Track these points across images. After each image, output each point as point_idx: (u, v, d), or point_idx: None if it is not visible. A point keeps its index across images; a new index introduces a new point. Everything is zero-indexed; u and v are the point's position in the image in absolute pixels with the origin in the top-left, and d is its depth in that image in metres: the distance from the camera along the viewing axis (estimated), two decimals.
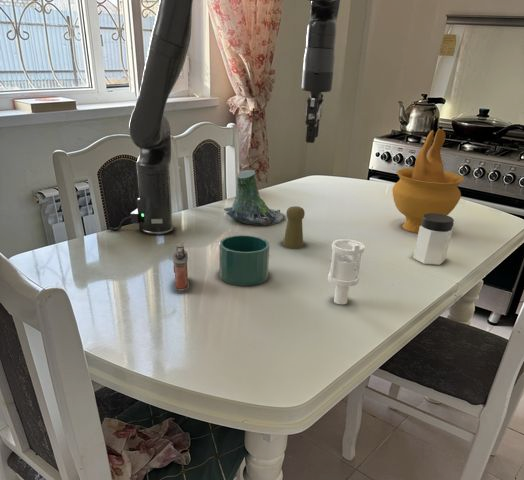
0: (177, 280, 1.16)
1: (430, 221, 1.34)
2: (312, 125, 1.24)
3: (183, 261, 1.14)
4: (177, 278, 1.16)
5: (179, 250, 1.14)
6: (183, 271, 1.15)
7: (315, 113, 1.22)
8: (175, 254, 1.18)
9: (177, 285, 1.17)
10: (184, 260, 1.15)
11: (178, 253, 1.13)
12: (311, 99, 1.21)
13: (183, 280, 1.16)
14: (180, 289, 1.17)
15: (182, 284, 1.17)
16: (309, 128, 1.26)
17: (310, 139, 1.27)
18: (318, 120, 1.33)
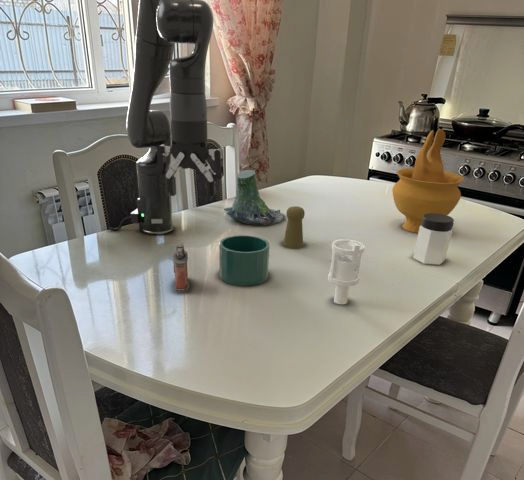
0: (177, 280, 1.16)
1: (430, 221, 1.34)
2: None
3: (183, 261, 1.14)
4: (177, 278, 1.16)
5: (179, 250, 1.14)
6: (183, 271, 1.15)
7: None
8: (175, 254, 1.18)
9: (177, 285, 1.17)
10: (184, 260, 1.15)
11: (178, 253, 1.13)
12: None
13: (183, 280, 1.16)
14: (180, 289, 1.17)
15: (182, 284, 1.17)
16: None
17: None
18: (208, 179, 1.08)
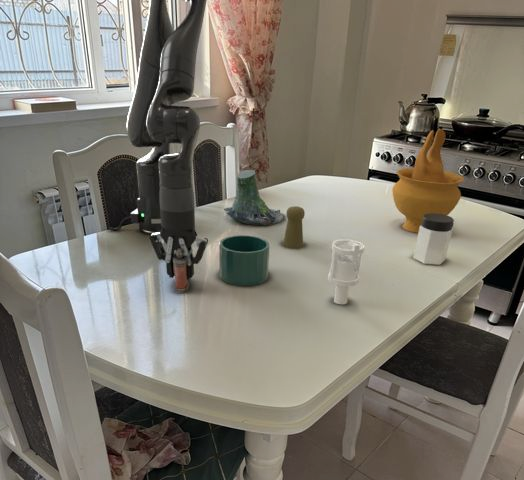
0: (177, 280, 1.16)
1: (430, 221, 1.34)
2: None
3: (183, 261, 1.14)
4: (177, 278, 1.16)
5: (179, 250, 1.14)
6: (183, 271, 1.15)
7: None
8: (175, 254, 1.18)
9: (177, 285, 1.17)
10: (184, 260, 1.15)
11: (178, 253, 1.13)
12: None
13: (183, 280, 1.16)
14: (180, 289, 1.17)
15: (182, 284, 1.17)
16: None
17: None
18: (186, 263, 1.17)
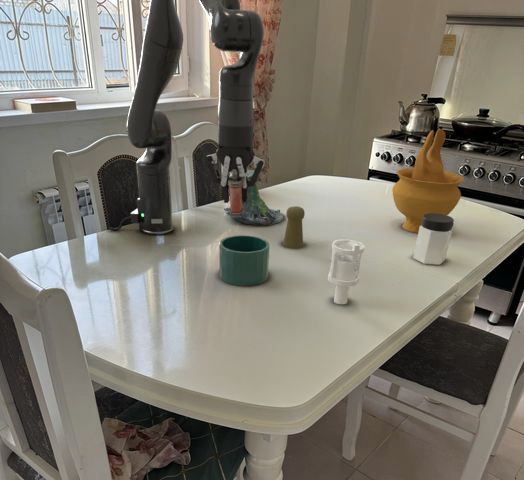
0: (232, 203, 1.13)
1: (430, 221, 1.34)
2: None
3: (238, 182, 1.11)
4: (232, 201, 1.12)
5: (234, 170, 1.10)
6: (238, 193, 1.12)
7: None
8: (230, 178, 1.14)
9: (232, 209, 1.13)
10: (239, 181, 1.11)
11: (233, 173, 1.10)
12: None
13: (238, 203, 1.13)
14: (235, 213, 1.14)
15: (237, 207, 1.13)
16: None
17: None
18: None
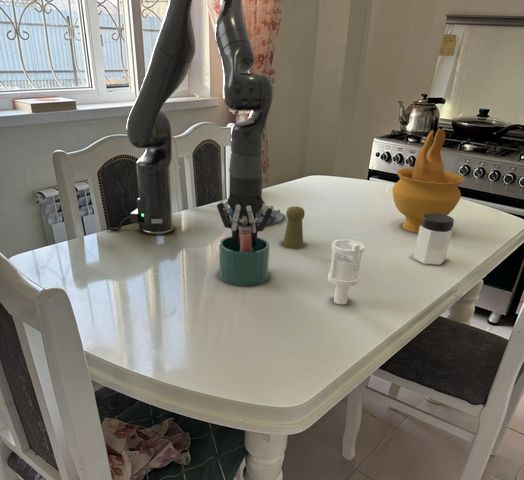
0: (242, 247, 1.20)
1: (430, 221, 1.34)
2: None
3: (248, 228, 1.18)
4: (242, 245, 1.19)
5: (244, 217, 1.17)
6: (248, 238, 1.18)
7: None
8: (240, 222, 1.21)
9: None
10: (249, 227, 1.18)
11: (243, 220, 1.16)
12: None
13: (248, 247, 1.19)
14: None
15: (247, 250, 1.20)
16: None
17: None
18: (251, 231, 1.20)
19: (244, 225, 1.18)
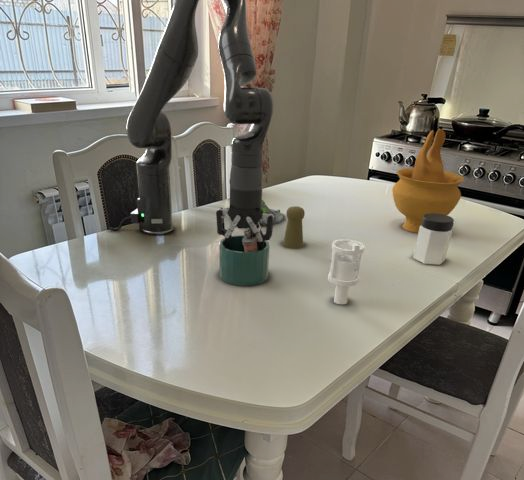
0: None
1: (430, 221, 1.34)
2: None
3: (250, 240, 1.18)
4: None
5: (246, 229, 1.18)
6: (251, 250, 1.19)
7: None
8: None
9: None
10: (252, 239, 1.19)
11: (245, 232, 1.18)
12: None
13: None
14: None
15: None
16: None
17: None
18: (258, 239, 1.21)
19: (247, 237, 1.19)
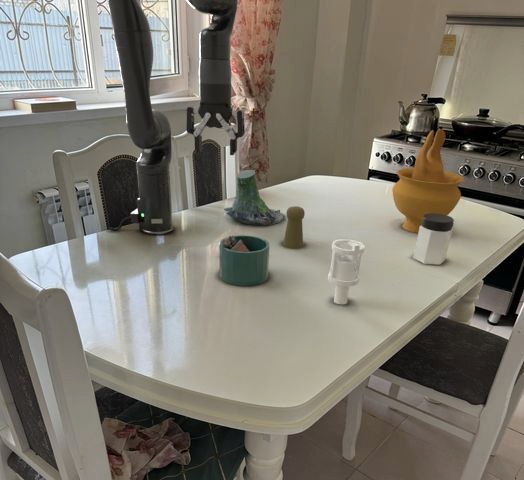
0: None
1: (430, 221, 1.34)
2: None
3: (232, 248, 1.21)
4: None
5: (224, 241, 1.22)
6: None
7: None
8: None
9: None
10: (233, 247, 1.22)
11: (223, 244, 1.21)
12: None
13: None
14: None
15: None
16: None
17: None
18: (231, 137, 1.23)
19: (229, 248, 1.22)
